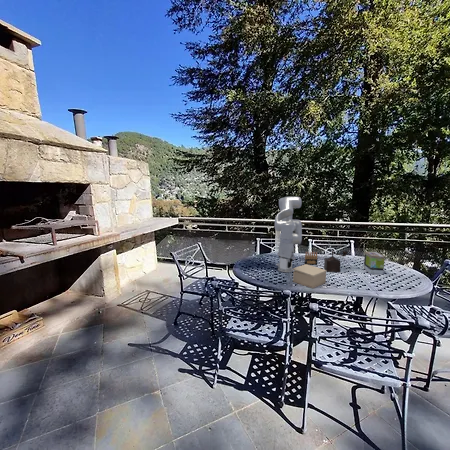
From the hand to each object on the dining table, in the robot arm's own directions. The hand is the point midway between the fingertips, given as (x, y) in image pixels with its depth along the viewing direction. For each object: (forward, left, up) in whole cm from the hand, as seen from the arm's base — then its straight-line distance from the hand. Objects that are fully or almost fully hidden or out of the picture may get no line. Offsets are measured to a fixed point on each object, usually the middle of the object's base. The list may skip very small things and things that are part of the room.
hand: (285, 266), depth 172 cm
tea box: (+28, +77, -14) cm, 84 cm away
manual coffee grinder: (+7, +56, -14) cm, 59 cm away
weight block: (0, 0, -1) cm, 1 cm away
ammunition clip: (-15, +56, -14) cm, 60 cm away
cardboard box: (+8, +16, -13) cm, 23 cm away
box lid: (+8, +16, -5) cm, 19 cm away
